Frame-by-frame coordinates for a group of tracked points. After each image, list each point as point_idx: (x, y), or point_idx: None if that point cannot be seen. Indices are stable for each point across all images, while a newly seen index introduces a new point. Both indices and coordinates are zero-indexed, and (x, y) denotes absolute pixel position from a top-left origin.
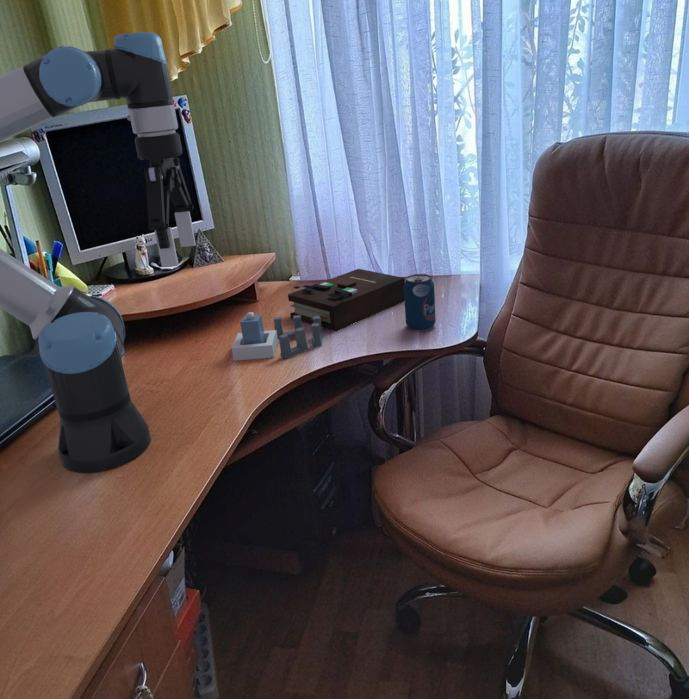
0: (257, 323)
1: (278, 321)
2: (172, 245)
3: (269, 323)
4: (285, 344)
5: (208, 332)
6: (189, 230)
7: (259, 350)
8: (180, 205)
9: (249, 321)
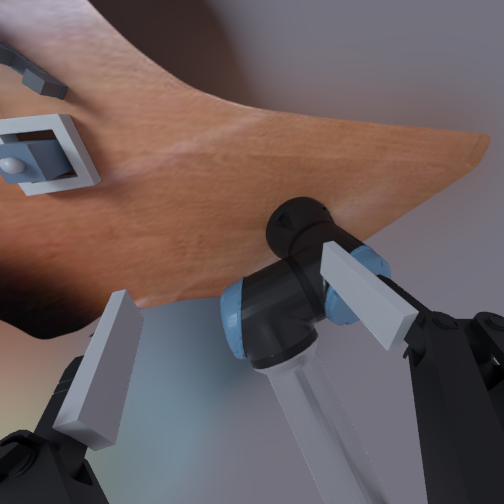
0: (30, 145)
1: None
2: (369, 273)
3: None
4: (49, 80)
5: (11, 254)
6: (115, 338)
7: (74, 139)
8: (81, 484)
9: (35, 162)
